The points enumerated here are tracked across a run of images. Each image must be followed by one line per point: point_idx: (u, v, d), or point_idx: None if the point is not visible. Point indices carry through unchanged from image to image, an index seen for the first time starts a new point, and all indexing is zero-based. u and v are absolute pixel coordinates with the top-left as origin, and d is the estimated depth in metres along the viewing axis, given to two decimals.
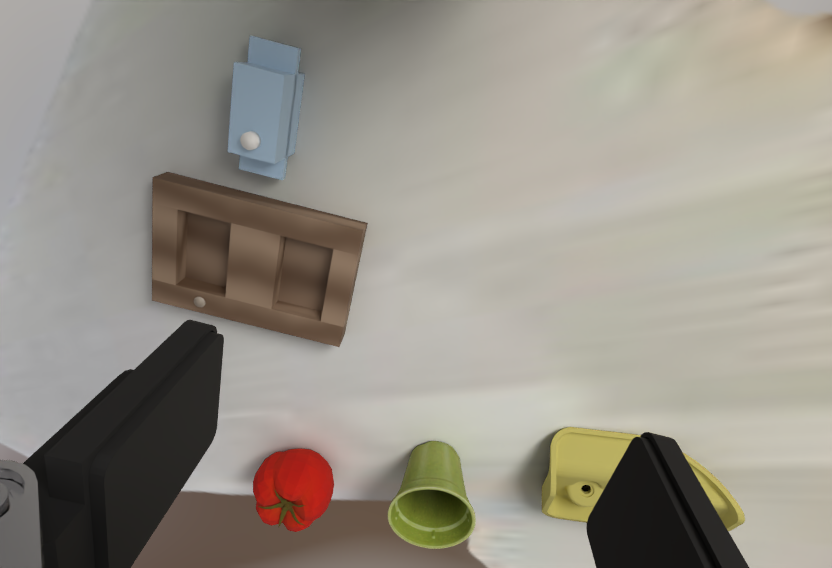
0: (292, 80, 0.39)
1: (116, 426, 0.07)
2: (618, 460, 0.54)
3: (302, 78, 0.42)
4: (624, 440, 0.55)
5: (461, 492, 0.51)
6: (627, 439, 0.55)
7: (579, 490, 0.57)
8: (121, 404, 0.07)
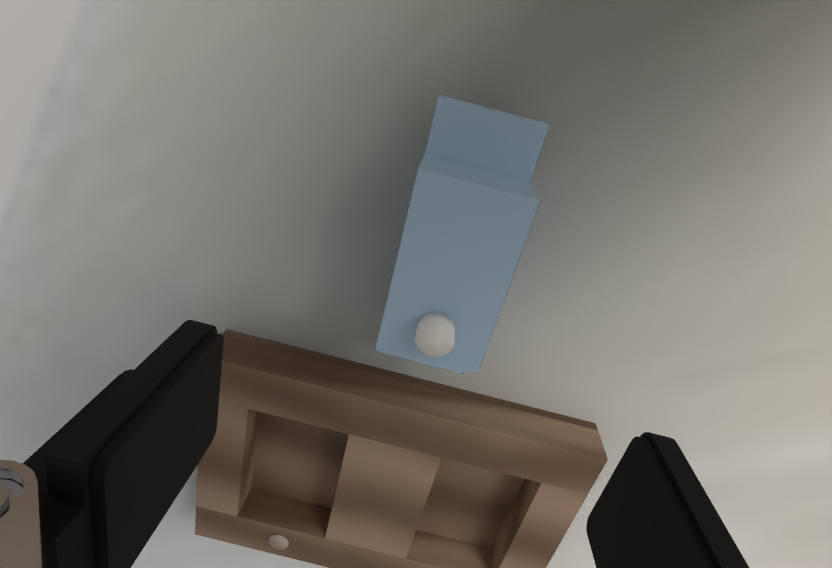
0: None
1: (116, 427, 0.07)
2: None
3: None
4: None
5: None
6: None
7: None
8: (121, 404, 0.07)
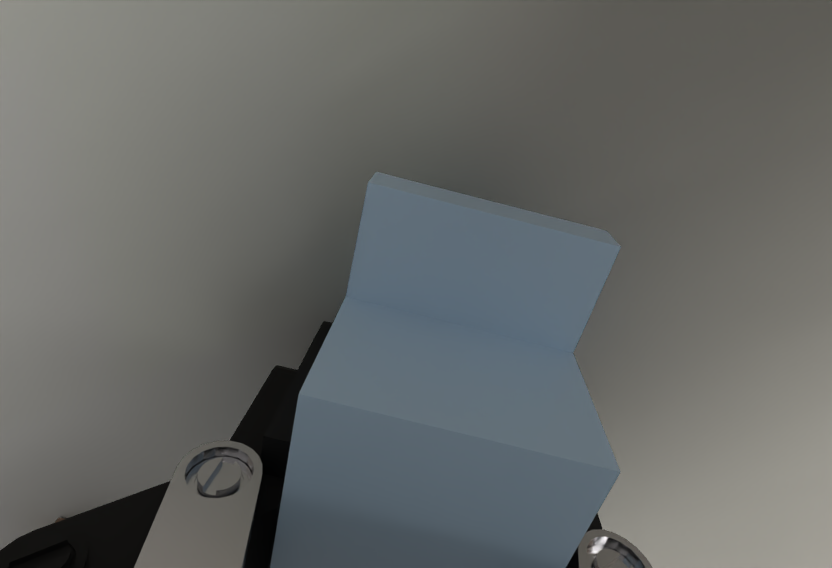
0: None
1: None
2: None
3: None
4: None
5: None
6: None
7: None
8: None
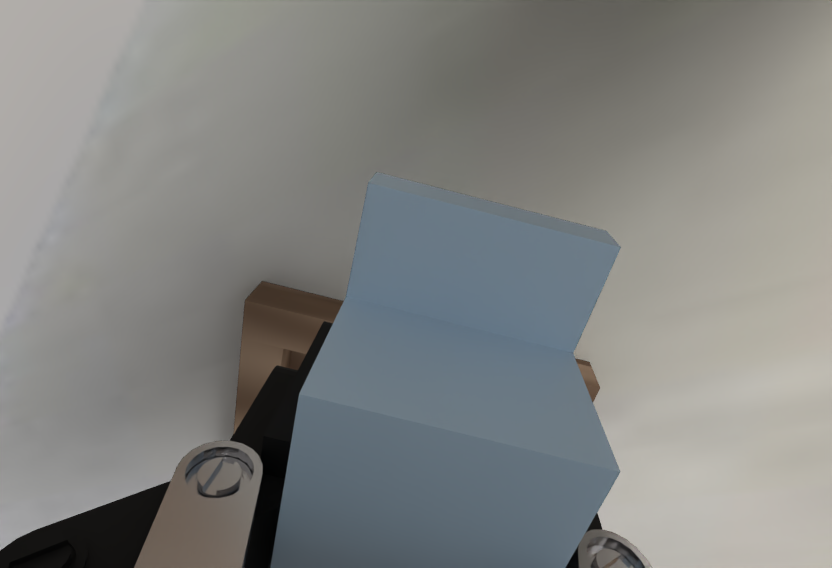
0: None
1: None
2: None
3: None
4: None
5: None
6: None
7: None
8: None
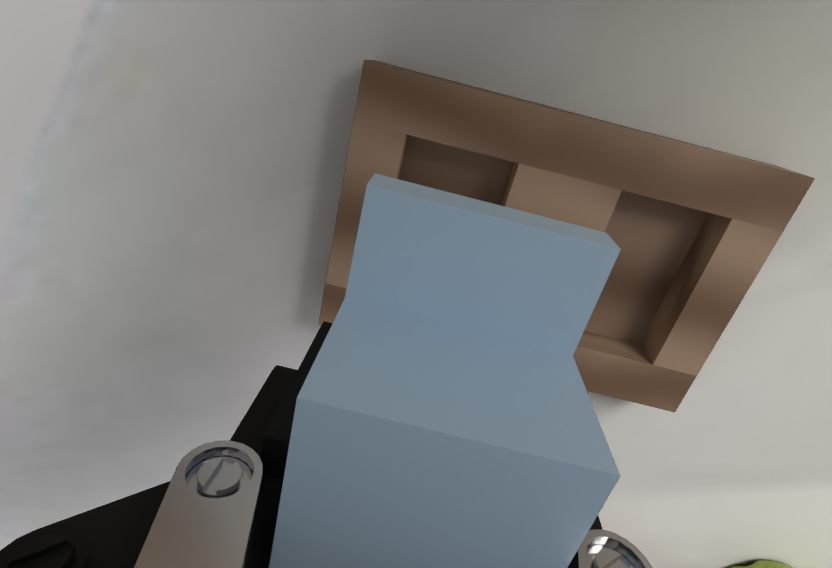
0: None
1: None
2: None
3: None
4: None
5: None
6: None
7: None
8: None
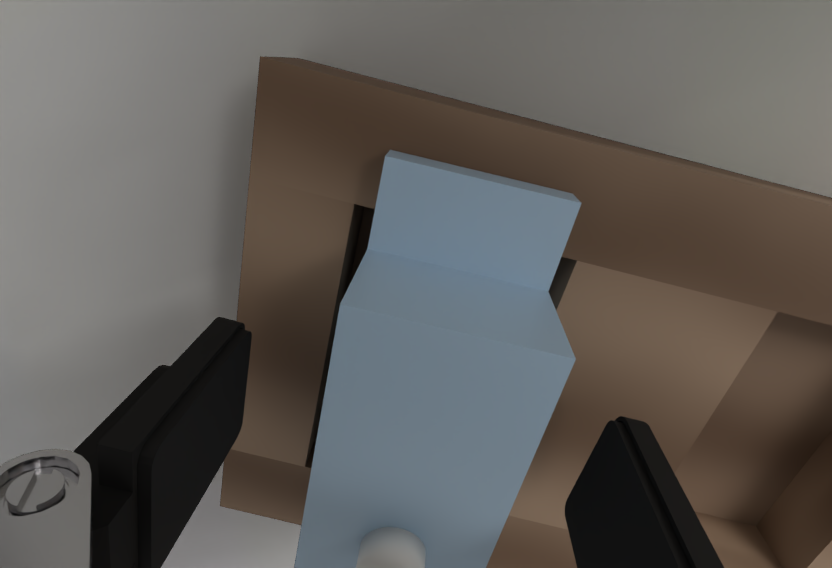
0: None
1: (161, 417, 0.07)
2: None
3: None
4: None
5: None
6: None
7: None
8: (163, 397, 0.08)
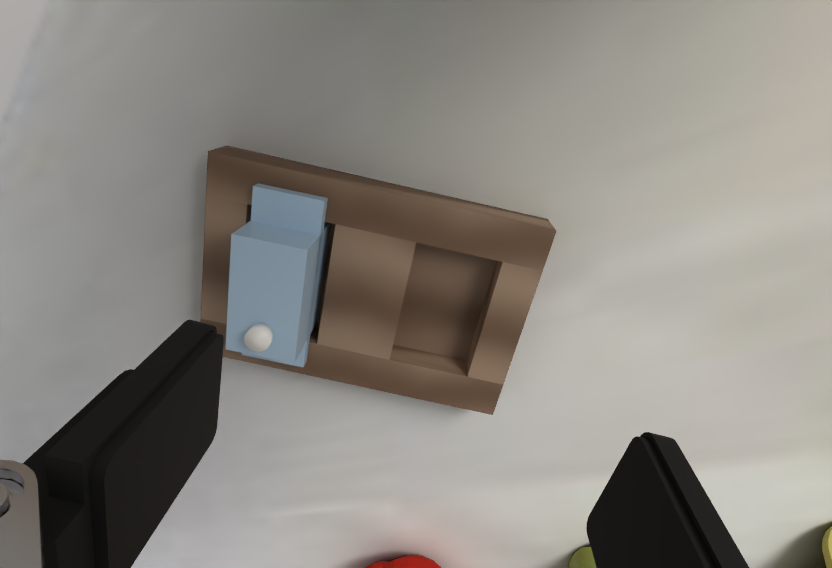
0: (317, 245, 0.27)
1: (117, 426, 0.07)
2: None
3: (327, 230, 0.29)
4: None
5: None
6: None
7: None
8: (121, 404, 0.07)
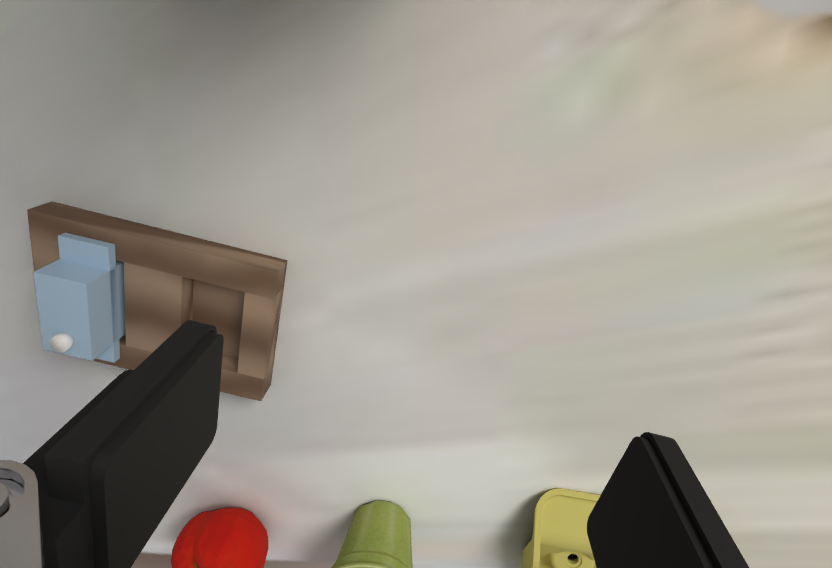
0: (105, 278, 0.38)
1: (116, 426, 0.07)
2: None
3: None
4: None
5: None
6: None
7: (565, 559, 0.49)
8: (121, 404, 0.07)
